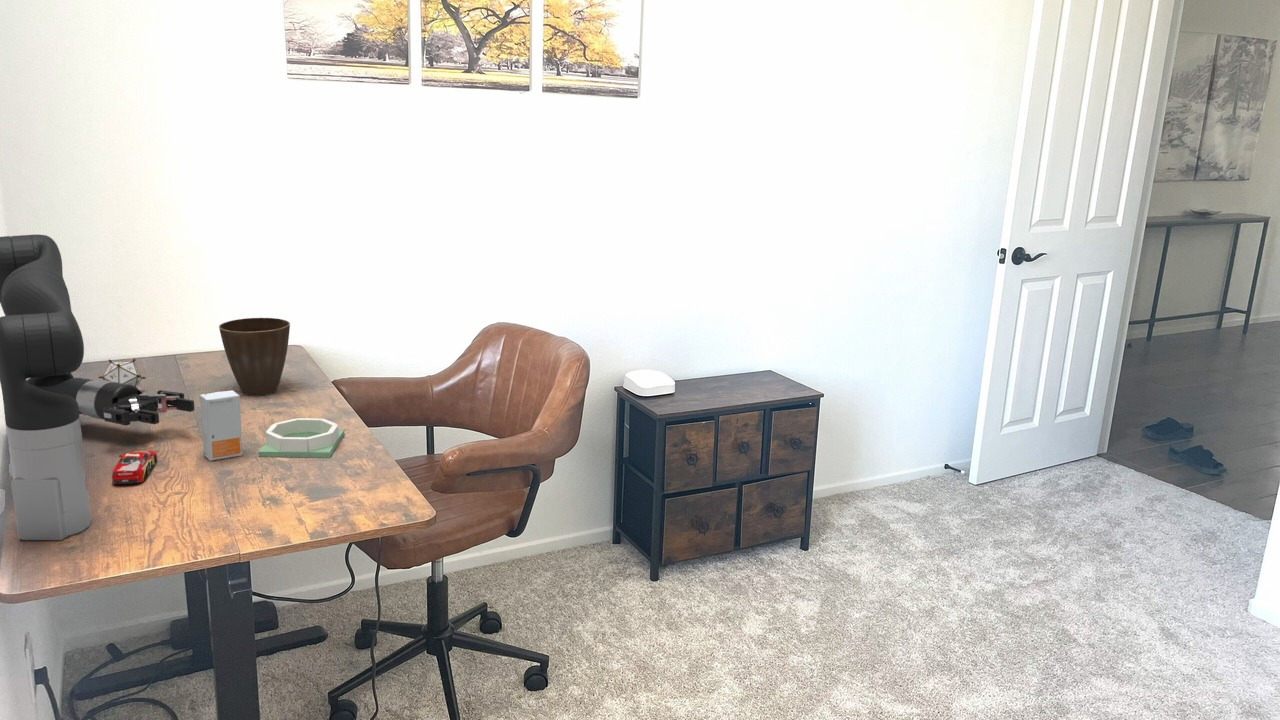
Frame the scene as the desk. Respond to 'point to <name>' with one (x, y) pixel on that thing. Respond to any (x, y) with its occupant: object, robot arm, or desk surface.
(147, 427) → the desk surface
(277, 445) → the octagonal rimmed tray
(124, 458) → the race car
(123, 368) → the game die
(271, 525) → the desk surface
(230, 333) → the plant pot
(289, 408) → the desk surface
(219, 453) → the skincare box
